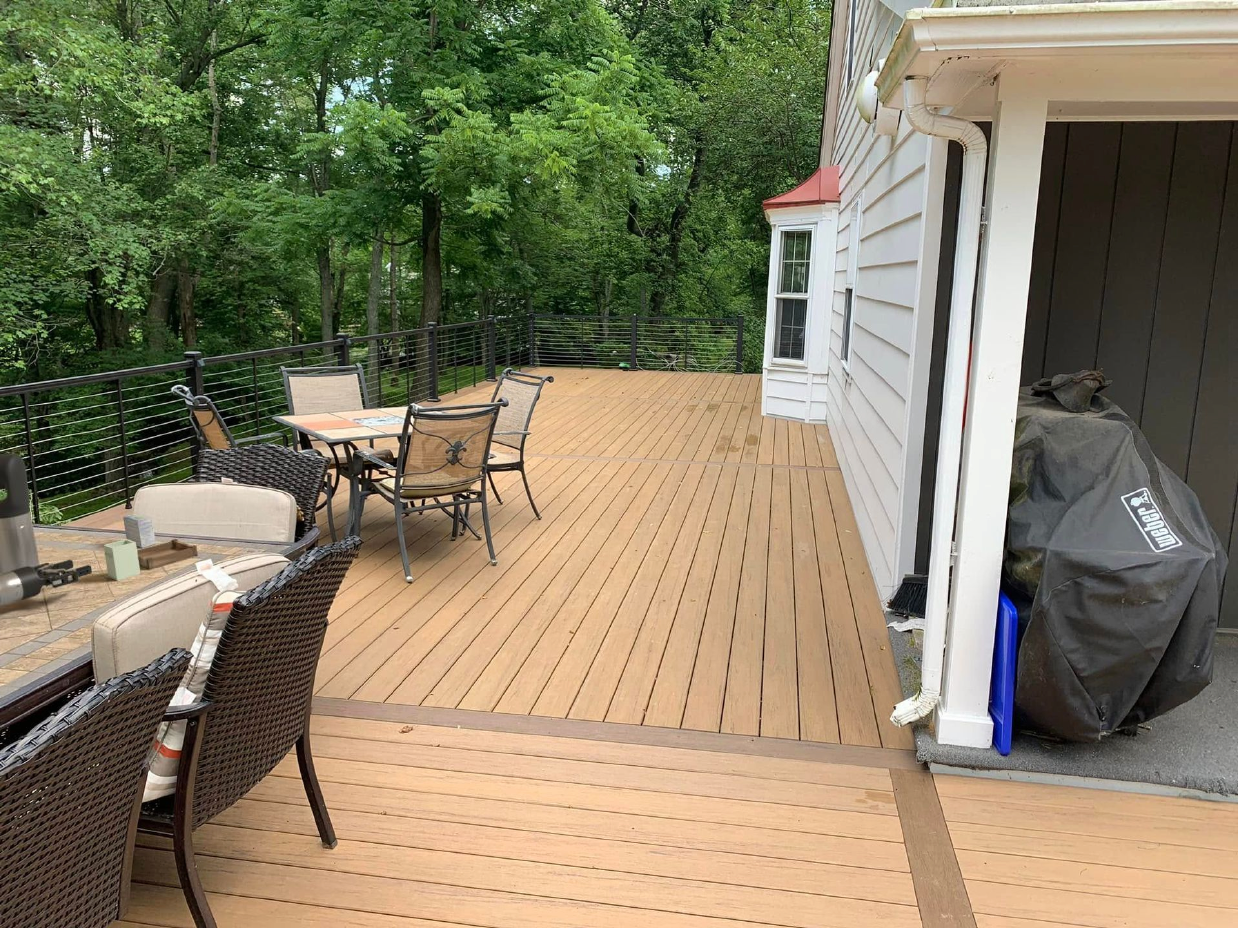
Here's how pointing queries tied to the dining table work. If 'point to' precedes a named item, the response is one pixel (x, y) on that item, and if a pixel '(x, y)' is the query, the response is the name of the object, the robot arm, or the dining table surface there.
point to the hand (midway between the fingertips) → (81, 566)
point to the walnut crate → (165, 554)
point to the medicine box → (139, 529)
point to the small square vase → (122, 559)
